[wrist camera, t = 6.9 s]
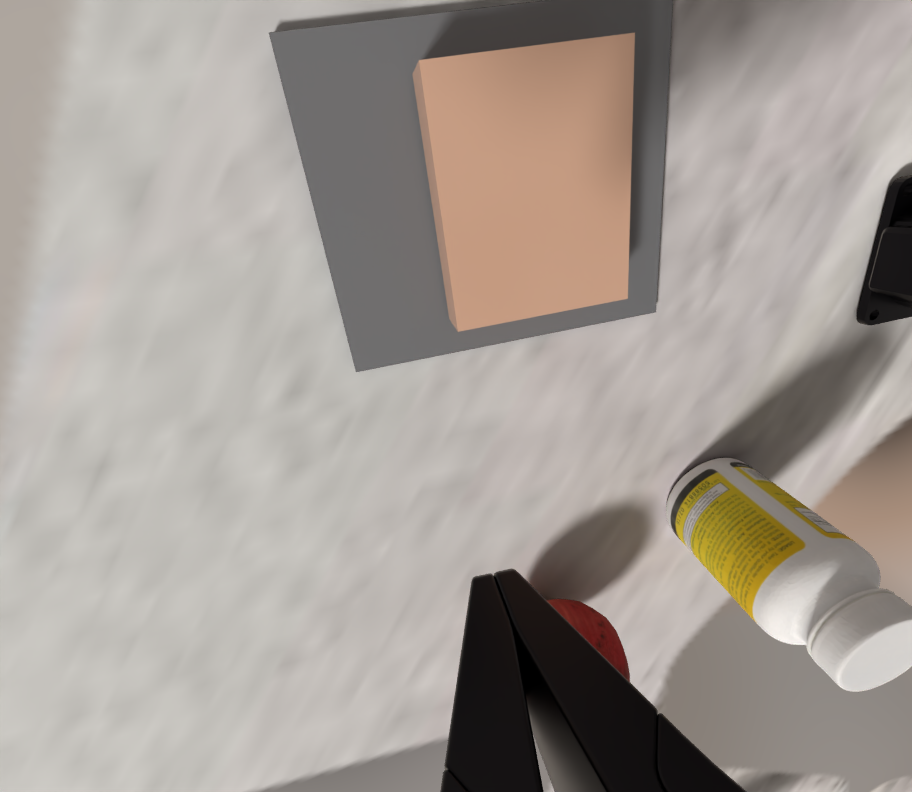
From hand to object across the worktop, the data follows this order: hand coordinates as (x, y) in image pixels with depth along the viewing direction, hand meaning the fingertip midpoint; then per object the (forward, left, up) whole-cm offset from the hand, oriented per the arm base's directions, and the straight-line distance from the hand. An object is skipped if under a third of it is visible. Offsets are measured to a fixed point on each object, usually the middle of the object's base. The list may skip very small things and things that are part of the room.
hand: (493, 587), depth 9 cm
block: (-1, -6, -10) cm, 12 cm away
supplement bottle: (-14, +11, -12) cm, 22 cm away
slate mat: (-4, -6, -12) cm, 14 cm away
